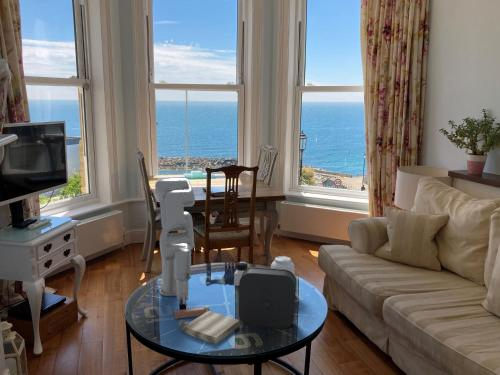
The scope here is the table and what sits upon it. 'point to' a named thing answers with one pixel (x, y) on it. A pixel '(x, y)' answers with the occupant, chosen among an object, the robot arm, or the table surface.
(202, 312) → the folding leg
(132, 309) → the table surface
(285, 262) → the white ribbed vase
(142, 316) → the table surface
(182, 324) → the stool seat
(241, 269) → the box camera
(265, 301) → the speaker
